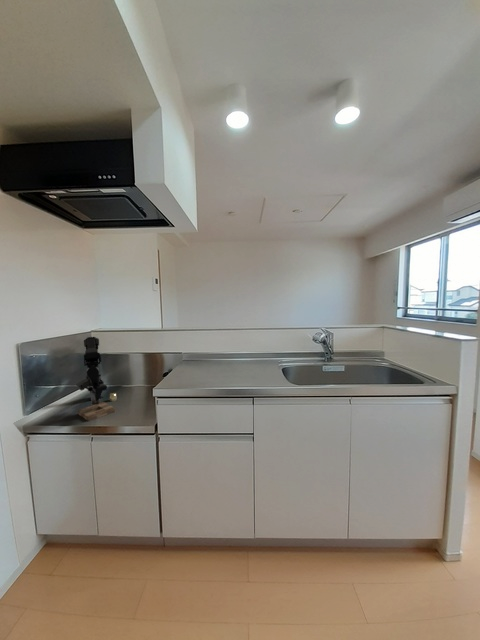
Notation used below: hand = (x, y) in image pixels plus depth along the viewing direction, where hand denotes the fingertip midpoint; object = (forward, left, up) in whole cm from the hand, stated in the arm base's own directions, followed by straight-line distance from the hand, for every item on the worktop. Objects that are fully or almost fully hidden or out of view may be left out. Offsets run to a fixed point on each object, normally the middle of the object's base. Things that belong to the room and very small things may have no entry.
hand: (95, 400), depth 149 cm
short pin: (-11, +15, -8) cm, 20 cm away
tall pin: (0, 0, -2) cm, 2 cm away
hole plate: (0, 0, -8) cm, 8 cm away
